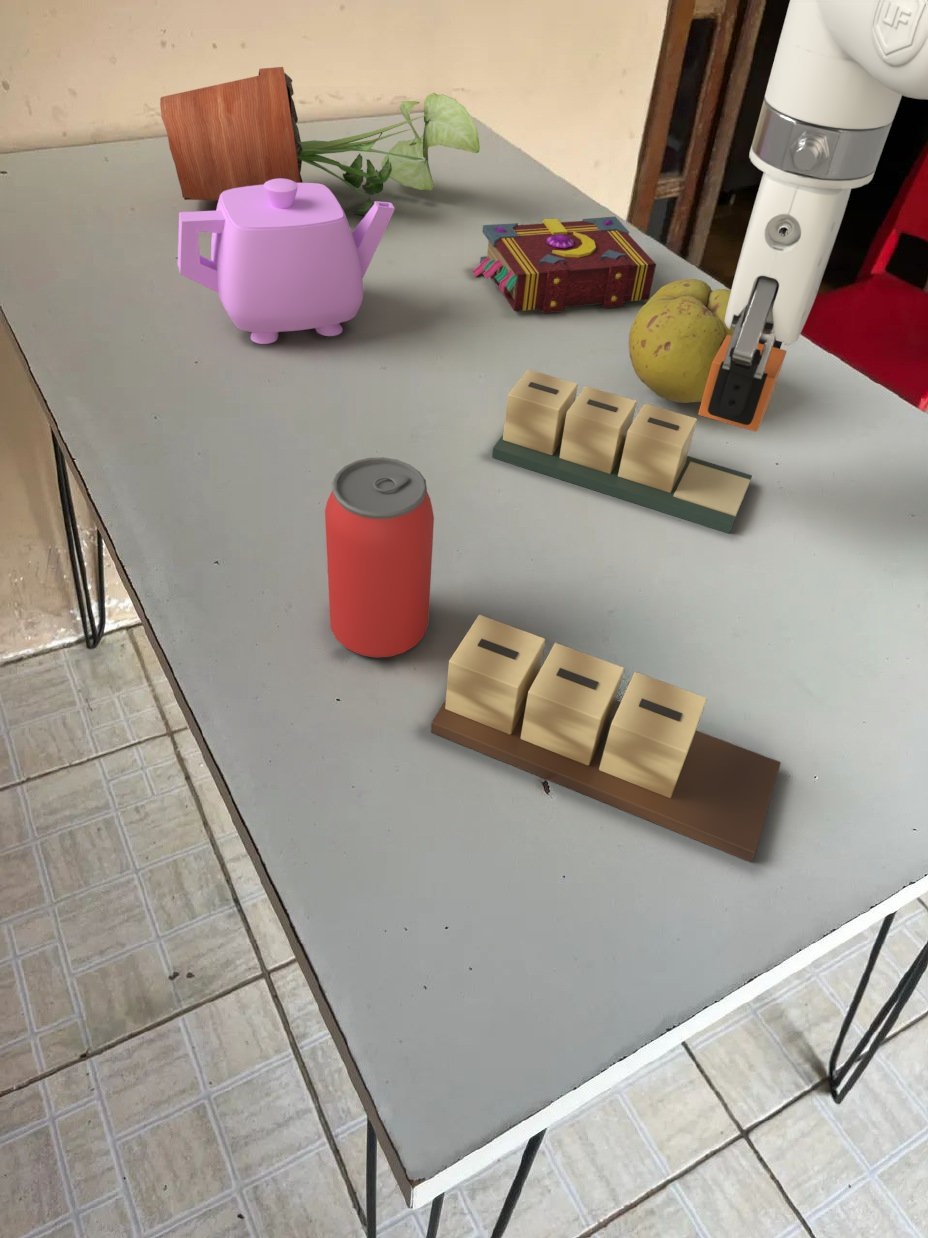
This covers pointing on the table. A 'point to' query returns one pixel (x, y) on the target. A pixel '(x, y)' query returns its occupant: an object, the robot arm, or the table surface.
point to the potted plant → (292, 139)
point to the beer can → (379, 556)
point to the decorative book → (566, 264)
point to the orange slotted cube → (773, 373)
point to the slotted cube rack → (617, 450)
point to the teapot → (282, 256)
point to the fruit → (679, 338)
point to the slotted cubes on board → (604, 736)
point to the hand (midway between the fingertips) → (738, 398)
